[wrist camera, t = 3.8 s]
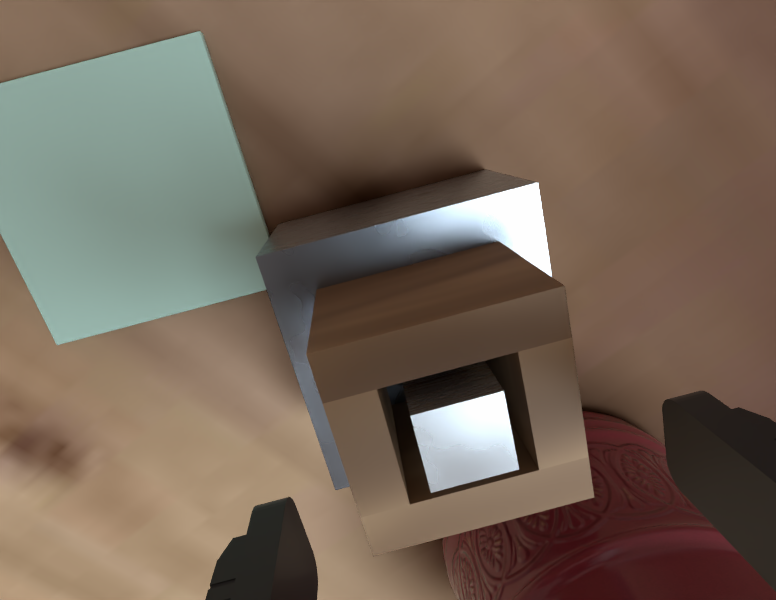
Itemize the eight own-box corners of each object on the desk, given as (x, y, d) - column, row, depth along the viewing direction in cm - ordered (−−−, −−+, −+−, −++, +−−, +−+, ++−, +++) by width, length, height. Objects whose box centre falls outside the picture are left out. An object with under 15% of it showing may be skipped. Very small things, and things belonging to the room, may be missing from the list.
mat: (-59, 101, 19) (-67, 100, 18) (202, 33, 19) (199, 31, 19) (61, 341, 22) (57, 345, 22) (284, 282, 22) (284, 285, 22)
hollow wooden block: (316, 289, 16) (306, 354, 11) (499, 241, 16) (564, 285, 11) (364, 445, 18) (373, 556, 13) (528, 402, 18) (594, 497, 13)
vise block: (278, 224, 21) (212, 319, 10) (485, 169, 21) (635, 206, 10) (336, 406, 24) (332, 629, 13) (519, 358, 24) (664, 540, 13)
